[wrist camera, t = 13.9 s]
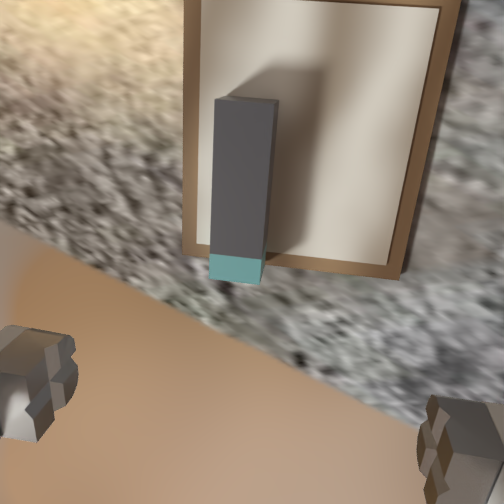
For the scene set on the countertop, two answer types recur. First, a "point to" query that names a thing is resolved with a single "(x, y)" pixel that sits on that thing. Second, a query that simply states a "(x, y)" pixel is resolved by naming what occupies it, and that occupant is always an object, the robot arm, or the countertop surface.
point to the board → (321, 120)
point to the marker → (241, 186)
